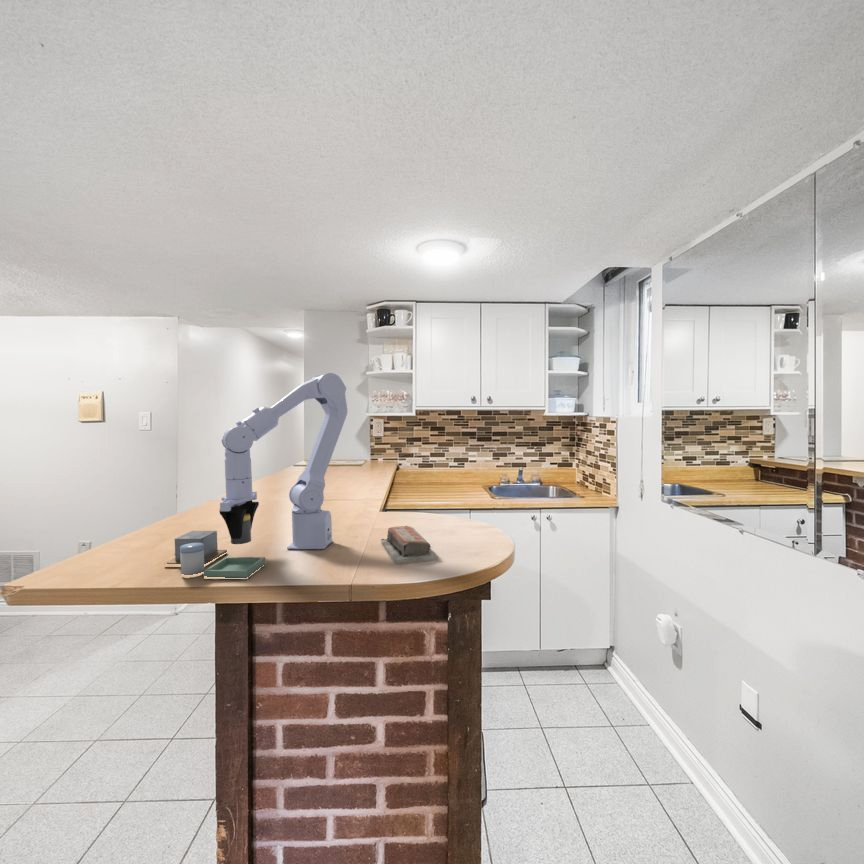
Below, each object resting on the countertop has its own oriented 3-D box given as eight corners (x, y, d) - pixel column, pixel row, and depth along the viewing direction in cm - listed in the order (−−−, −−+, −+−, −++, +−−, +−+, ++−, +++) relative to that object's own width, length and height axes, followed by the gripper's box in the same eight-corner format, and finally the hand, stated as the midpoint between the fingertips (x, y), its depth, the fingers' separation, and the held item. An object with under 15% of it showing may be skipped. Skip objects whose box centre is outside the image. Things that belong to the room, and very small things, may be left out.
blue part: (208, 571, 99) (207, 542, 99) (197, 578, 95) (196, 548, 95) (188, 571, 100) (187, 542, 99) (176, 578, 95) (175, 548, 95)
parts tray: (265, 565, 103) (265, 557, 103) (247, 579, 94) (246, 570, 94) (225, 565, 103) (225, 557, 103) (203, 579, 94) (203, 570, 94)
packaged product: (379, 526, 119) (417, 523, 121) (380, 545, 119) (417, 541, 122) (394, 545, 101) (438, 540, 104) (395, 566, 102) (438, 561, 104)
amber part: (254, 539, 112) (253, 513, 111) (246, 544, 107) (245, 517, 107) (236, 539, 112) (235, 513, 112) (227, 544, 107) (226, 517, 107)
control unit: (227, 553, 112) (226, 529, 112) (204, 567, 102) (203, 540, 102) (190, 553, 112) (189, 529, 112) (164, 567, 102) (163, 540, 102)
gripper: (236, 474, 116) (238, 528, 117) (205, 483, 102) (208, 544, 102) (264, 473, 116) (266, 527, 117) (236, 482, 101) (239, 544, 102)
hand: (241, 535), depth 109 cm, fingers closed on amber part, 4 cm apart
